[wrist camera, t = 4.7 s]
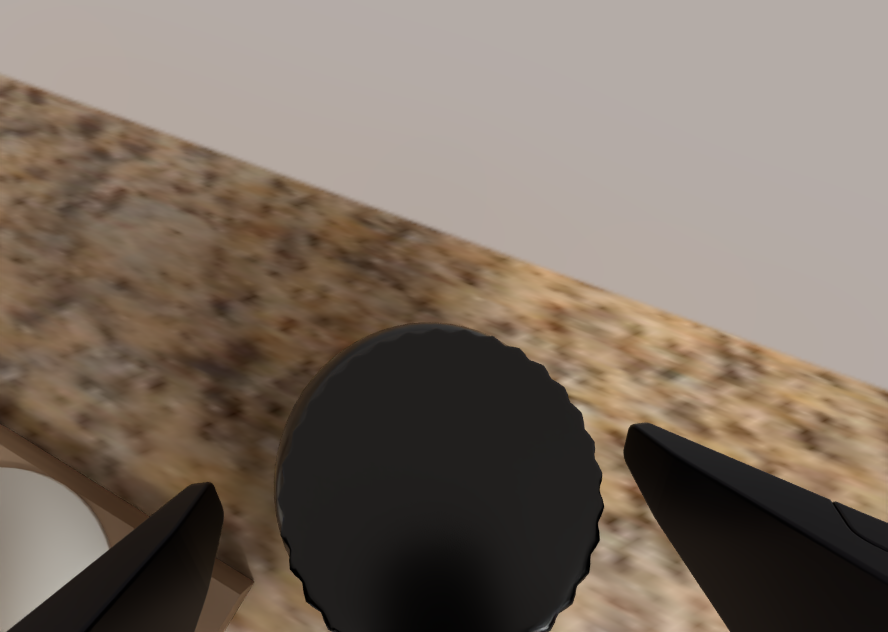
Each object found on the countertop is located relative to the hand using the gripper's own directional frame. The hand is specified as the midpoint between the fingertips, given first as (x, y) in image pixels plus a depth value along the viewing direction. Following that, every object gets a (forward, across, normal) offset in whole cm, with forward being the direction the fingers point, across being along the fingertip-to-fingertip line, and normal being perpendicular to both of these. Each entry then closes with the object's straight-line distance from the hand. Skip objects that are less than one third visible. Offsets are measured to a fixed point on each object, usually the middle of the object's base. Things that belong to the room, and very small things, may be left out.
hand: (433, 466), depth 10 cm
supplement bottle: (+6, 0, -6) cm, 9 cm away
